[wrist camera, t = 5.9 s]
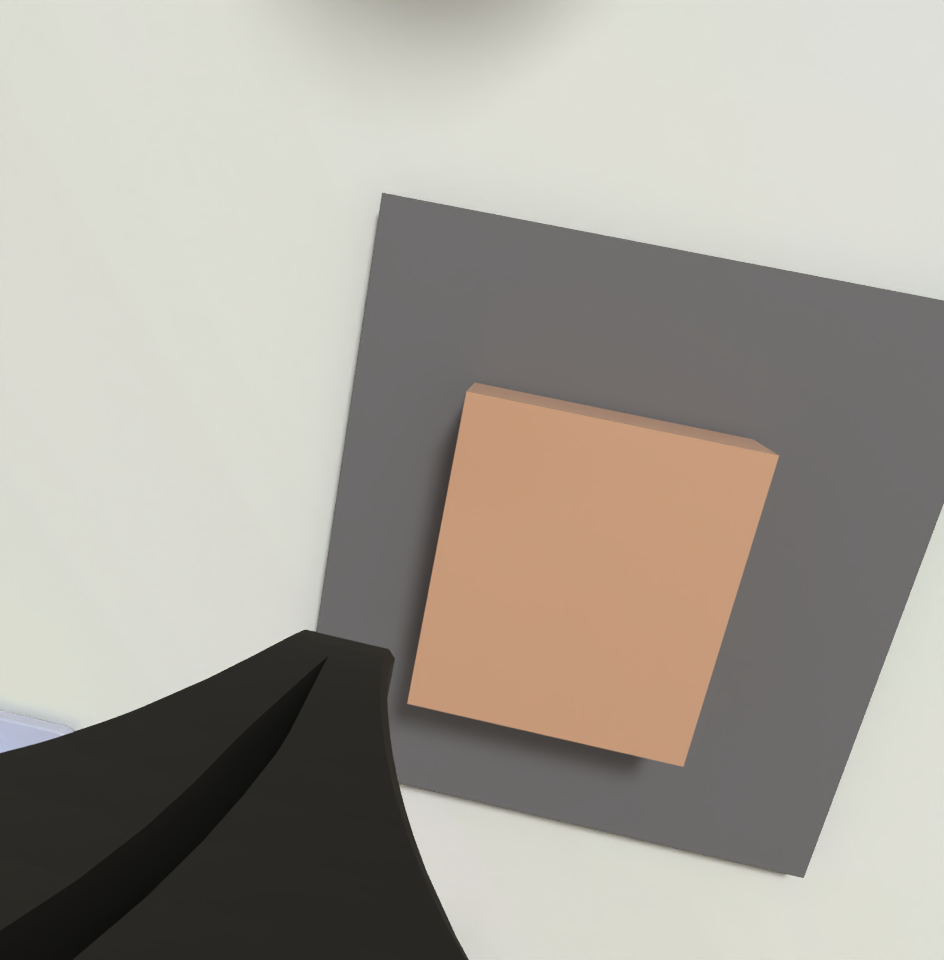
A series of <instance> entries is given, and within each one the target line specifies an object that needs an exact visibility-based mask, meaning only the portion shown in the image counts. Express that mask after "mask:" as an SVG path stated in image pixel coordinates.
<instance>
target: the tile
mask: <svg viewBox="0 0 944 960" xmlns="http://www.w3.org/2000/svg"><path fill="white" fill-rule="evenodd" d="M778 458H779V455H778V454H776V453H774V452H773V451H771V450H770V449H768V448H766V447H765V446H763V445H762V444H760V443H758V442H757V441H755V440H754V439H749V438H745V437H740V436H735V435H730V434H725V433H720V432H715V431H710V430H705V429H701V428H696V427H691V426H686V425H681V424H676V423H671V422H666V421H661V420H656V419H652V418H647V417H642V416H637V415H632V414H627V413H622V412H617V411H612V410H608V409H603V408H598V407H593V406H588V405H583V404H578V403H573V402H568V401H563V400H559V399H554V398H549V397H544V396H539V395H534V394H529V393H524V392H519V391H515V390H510V389H505V388H500V387H495V386H490V385H485V384H480V383H474V384H473V385H472V386H471V387H470V388H469V389H468V390H467V391H466V396H465V402H464V407H463V412H462V417H461V423H460V428H459V433H458V438H457V444H456V449H455V454H454V460H453V465H452V470H451V475H450V481H449V486H448V491H447V496H446V502H445V507H444V512H443V518H442V523H441V528H440V533H439V539H438V544H437V549H436V554H435V560H434V565H433V570H432V575H431V581H430V586H429V591H428V597H427V602H426V607H425V612H424V618H423V623H422V628H421V633H420V639H419V644H418V649H417V654H416V660H415V665H414V670H413V676H412V681H411V686H410V691H409V697H408V702H407V704H411V705H415V706H419V707H424V708H428V709H433V710H437V711H441V712H446V713H450V714H454V715H459V716H463V717H468V718H472V719H476V720H481V721H485V722H489V723H494V724H498V725H503V726H507V727H511V728H516V729H520V730H524V731H529V732H533V733H538V734H542V735H546V736H551V737H555V738H559V739H564V740H568V741H573V742H577V743H581V744H586V745H590V746H595V747H599V748H603V749H608V750H612V751H616V752H621V753H625V754H630V755H634V756H638V757H643V758H647V759H651V760H656V761H660V762H665V763H669V764H673V765H678V766H682V767H684V763H685V760H686V757H687V754H688V750H689V747H690V744H691V741H692V737H693V734H694V731H695V728H696V724H697V721H698V718H699V715H700V711H701V708H702V705H703V702H704V698H705V695H706V692H707V689H708V685H709V682H710V679H711V676H712V672H713V669H714V666H715V663H716V659H717V656H718V653H719V650H720V646H721V643H722V640H723V637H724V633H725V630H726V627H727V624H728V620H729V617H730V614H731V611H732V607H733V604H734V601H735V598H736V594H737V591H738V588H739V585H740V581H741V578H742V575H743V572H744V568H745V565H746V562H747V559H748V555H749V552H750V549H751V546H752V542H753V539H754V536H755V533H756V529H757V526H758V523H759V520H760V516H761V513H762V510H763V507H764V503H765V500H766V497H767V494H768V490H769V487H770V484H771V481H772V477H773V474H774V471H775V468H776V464H777V461H778Z"/></svg>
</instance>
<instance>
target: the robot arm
mask: <svg viewBox="0 0 944 960" xmlns="http://www.w3.org/2000/svg"><path fill="white" fill-rule="evenodd" d="M394 661H395V658H394V656H393V655H392V653H391V651H390V650H389V649H387V648H382V647H378V646H374V645H369V644H365V643H361V642H357V641H352V640H348V639H344V638H339V637H335V636H331V635H326V634H322V633H318V632H314V631H309V630H303V631H301V632H299V633H296V634H294V635H292V636H290V637H288V638H286V639H284V640H283V641H281V642H279V643H277V644H275V645H273V646H271V647H269V648H267V649H265V650H263V651H262V652H260V653H258V654H256V655H254V656H252V657H250V658H248V659H246V660H244V661H242V662H240V663H238V664H236V665H234V666H232V667H230V668H228V669H226V670H224V671H222V672H220V673H218V674H216V675H214V676H212V677H210V678H208V679H206V680H203V681H201V682H199V683H197V684H194V685H192V686H190V687H187V688H185V689H183V690H181V691H178V692H176V693H174V694H171V695H169V696H167V697H165V698H162V699H160V700H158V701H155V702H153V703H151V704H149V705H146V706H144V707H142V708H139V709H137V710H134V711H131V712H129V713H126V714H124V715H121V716H118V717H116V718H113V719H110V720H107V721H105V722H102V723H99V724H96V725H93V726H90V727H87V728H84V729H81V730H78V731H75V732H74V731H73V730H72V729H70V728H69V727H66V726H64V725H60V724H56V723H51V722H47V721H43V720H39V719H34V718H30V717H26V716H22V715H17V714H13V713H9V712H5V711H0V960H468V958H467V956H466V954H465V952H464V950H463V948H462V947H461V945H460V943H459V941H458V939H457V937H456V935H455V933H454V931H453V929H452V927H451V924H450V922H449V920H448V918H447V916H446V913H445V911H444V909H443V907H442V905H441V902H440V900H439V898H438V896H437V894H436V891H435V889H434V887H433V885H432V883H431V880H430V878H429V876H428V874H427V871H426V869H425V866H424V864H423V861H422V858H421V855H420V853H419V850H418V847H417V844H416V841H415V839H414V836H413V833H412V830H411V826H410V823H409V820H408V817H407V813H406V810H405V807H404V803H403V799H402V795H401V791H400V787H399V783H398V778H397V773H396V768H395V763H394V758H393V752H392V745H391V739H390V728H389V718H388V702H387V698H388V692H389V687H390V682H391V677H392V672H393V666H394Z"/></svg>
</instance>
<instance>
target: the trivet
mask: <svg viewBox="0 0 944 960" xmlns="http://www.w3.org/2000/svg"><path fill="white" fill-rule="evenodd" d="M474 383H480V384H485V385H490V386H495V387H500V388H505V389H510V390H515V391H519V392H524V393H529V394H534V395H539V396H544V397H549V398H554V399H559V400H563V401H568V402H573V403H578V404H583V405H588V406H593V407H598V408H603V409H608V410H612V411H617V412H622V413H627V414H632V415H637V416H642V417H647V418H652V419H656V420H661V421H666V422H671V423H676V424H681V425H686V426H691V427H696V428H701V429H705V430H710V431H715V432H720V433H725V434H730V435H735V436H740V437H745V438H749V439H754V440H755V441H757V442H758V443H760V444H762V445H763V446H765V447H766V448H768V449H770V450H771V451H773V452H774V453H776V454H778V455H779V458H778V461H777V464H776V468H775V471H774V474H773V477H772V481H771V484H770V487H769V490H768V494H767V497H766V500H765V503H764V507H763V510H762V513H761V516H760V520H759V523H758V526H757V529H756V533H755V536H754V539H753V542H752V546H751V549H750V552H749V555H748V559H747V562H746V565H745V568H744V572H743V575H742V578H741V581H740V585H739V588H738V591H737V594H736V598H735V601H734V604H733V607H732V611H731V614H730V617H729V620H728V624H727V627H726V630H725V633H724V637H723V640H722V643H721V646H720V650H719V653H718V656H717V659H716V663H715V666H714V669H713V672H712V676H711V679H710V682H709V685H708V689H707V692H706V695H705V698H704V702H703V705H702V708H701V711H700V715H699V718H698V721H697V724H696V728H695V731H694V734H693V737H692V741H691V744H690V747H689V750H688V754H687V757H686V760H685V763H684V767H682V766H678V765H673V764H669V763H665V762H660V761H656V760H651V759H647V758H643V757H638V756H634V755H630V754H625V753H621V752H616V751H612V750H608V749H603V748H599V747H595V746H590V745H586V744H581V743H577V742H573V741H568V740H564V739H559V738H555V737H551V736H546V735H542V734H538V733H533V732H529V731H524V730H520V729H516V728H511V727H507V726H503V725H498V724H494V723H489V722H485V721H481V720H476V719H472V718H468V717H463V716H459V715H454V714H450V713H446V712H441V711H437V710H433V709H428V708H424V707H419V706H415V705H411V704H407V702H408V697H409V691H410V686H411V681H412V676H413V670H414V665H415V660H416V654H417V649H418V644H419V639H420V633H421V628H422V623H423V618H424V612H425V607H426V602H427V597H428V591H429V586H430V581H431V575H432V570H433V565H434V560H435V554H436V549H437V544H438V539H439V533H440V528H441V523H442V518H443V512H444V507H445V502H446V496H447V491H448V486H449V481H450V475H451V470H452V465H453V460H454V454H455V449H456V444H457V438H458V433H459V428H460V423H461V417H462V412H463V407H464V402H465V396H466V391H467V390H468V389H469V388H470V387H471V386H472V385H473V384H474ZM943 504H944V301H943V300H937V299H932V298H927V297H922V296H917V295H911V294H906V293H901V292H896V291H891V290H885V289H880V288H875V287H870V286H865V285H859V284H854V283H849V282H844V281H839V280H833V279H828V278H823V277H818V276H812V275H807V274H802V273H797V272H792V271H786V270H781V269H776V268H771V267H766V266H760V265H755V264H750V263H745V262H740V261H734V260H729V259H724V258H719V257H714V256H708V255H703V254H698V253H693V252H688V251H682V250H677V249H672V248H667V247H662V246H656V245H651V244H646V243H641V242H635V241H630V240H625V239H620V238H615V237H609V236H604V235H599V234H594V233H589V232H583V231H578V230H573V229H568V228H563V227H557V226H552V225H547V224H542V223H537V222H531V221H526V220H521V219H516V218H511V217H505V216H500V215H495V214H490V213H484V212H479V211H474V210H469V209H464V208H458V207H453V206H448V205H443V204H438V203H432V202H427V201H422V200H417V199H412V198H406V197H401V196H396V195H391V194H386V193H382V198H381V204H380V211H379V218H378V225H377V231H376V238H375V245H374V251H373V258H372V265H371V271H370V278H369V285H368V291H367V298H366V305H365V312H364V318H363V325H362V332H361V338H360V345H359V352H358V358H357V365H356V372H355V378H354V385H353V392H352V398H351V405H350V412H349V419H348V425H347V432H346V439H345V445H344V452H343V459H342V465H341V472H340V479H339V485H338V492H337V499H336V506H335V512H334V519H333V526H332V532H331V539H330V546H329V552H328V559H327V566H326V572H325V579H324V586H323V593H322V599H321V606H320V613H319V619H318V626H317V632H318V633H322V634H326V635H331V636H335V637H339V638H344V639H348V640H352V641H357V642H361V643H365V644H369V645H374V646H378V647H382V648H387V649H389V650H390V651H391V653H392V655H393V656H394V658H395V661H394V666H393V672H392V677H391V682H390V687H389V692H388V698H387V702H388V718H389V728H390V739H391V745H392V752H393V758H394V763H395V768H396V773H397V778H398V783H400V784H404V785H409V786H413V787H417V788H421V789H426V790H430V791H434V792H439V793H443V794H447V795H451V796H456V797H460V798H464V799H468V800H473V801H477V802H481V803H485V804H490V805H494V806H498V807H503V808H507V809H511V810H515V811H520V812H524V813H528V814H532V815H537V816H541V817H545V818H550V819H554V820H558V821H562V822H567V823H571V824H575V825H579V826H584V827H588V828H592V829H597V830H601V831H605V832H609V833H614V834H618V835H622V836H626V837H631V838H635V839H639V840H643V841H648V842H652V843H656V844H661V845H665V846H669V847H673V848H678V849H682V850H686V851H690V852H695V853H699V854H703V855H708V856H712V857H716V858H720V859H725V860H729V861H733V862H737V863H742V864H746V865H750V866H755V867H759V868H763V869H767V870H772V871H776V872H780V873H784V874H789V875H793V876H797V877H801V878H804V875H805V873H806V870H807V867H808V865H809V862H810V859H811V857H812V854H813V851H814V849H815V846H816V843H817V841H818V838H819V835H820V833H821V830H822V827H823V825H824V822H825V819H826V817H827V814H828V811H829V809H830V806H831V803H832V801H833V798H834V795H835V792H836V790H837V787H838V784H839V782H840V779H841V776H842V774H843V771H844V768H845V766H846V763H847V760H848V758H849V755H850V752H851V750H852V747H853V744H854V742H855V739H856V736H857V734H858V731H859V728H860V726H861V723H862V720H863V718H864V715H865V712H866V710H867V707H868V704H869V702H870V699H871V696H872V694H873V691H874V688H875V686H876V683H877V680H878V677H879V675H880V672H881V669H882V667H883V664H884V661H885V659H886V656H887V653H888V651H889V648H890V645H891V643H892V640H893V637H894V635H895V632H896V629H897V627H898V624H899V621H900V619H901V616H902V613H903V611H904V608H905V605H906V603H907V600H908V597H909V595H910V592H911V589H912V587H913V584H914V581H915V579H916V576H917V573H918V571H919V568H920V565H921V562H922V560H923V557H924V554H925V552H926V549H927V546H928V544H929V541H930V538H931V536H932V533H933V530H934V528H935V525H936V522H937V520H938V517H939V514H940V512H941V509H942V506H943Z"/></svg>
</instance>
